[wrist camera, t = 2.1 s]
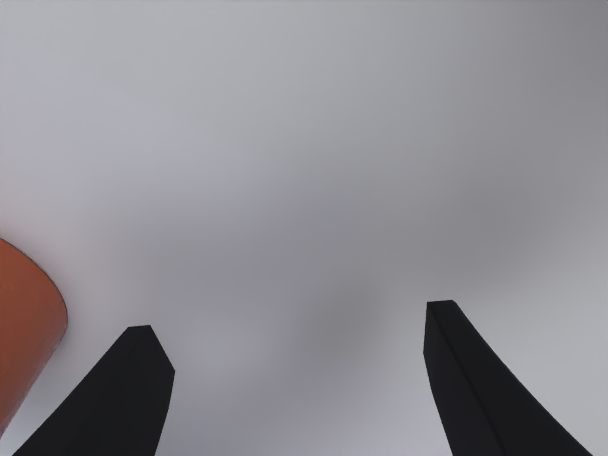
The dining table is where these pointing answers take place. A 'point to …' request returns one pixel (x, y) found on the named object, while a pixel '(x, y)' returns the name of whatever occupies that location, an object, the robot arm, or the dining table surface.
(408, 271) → the dining table surface
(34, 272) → the tin can
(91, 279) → the dining table surface
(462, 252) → the dining table surface
